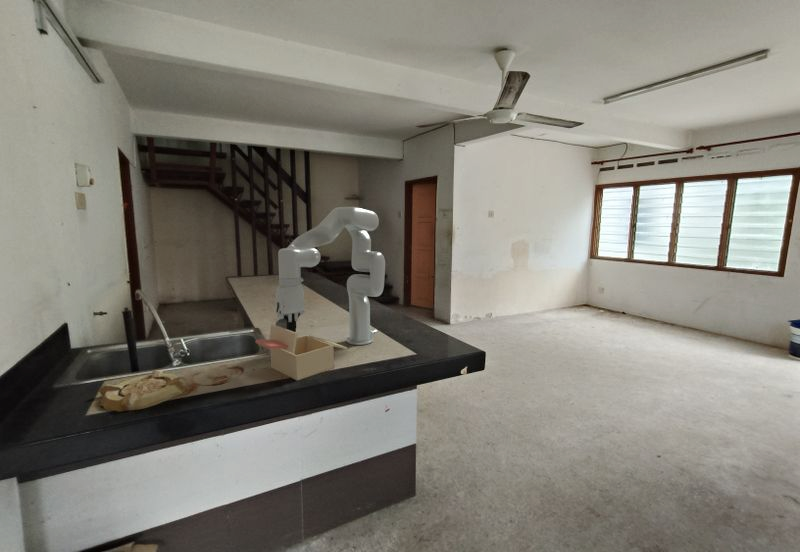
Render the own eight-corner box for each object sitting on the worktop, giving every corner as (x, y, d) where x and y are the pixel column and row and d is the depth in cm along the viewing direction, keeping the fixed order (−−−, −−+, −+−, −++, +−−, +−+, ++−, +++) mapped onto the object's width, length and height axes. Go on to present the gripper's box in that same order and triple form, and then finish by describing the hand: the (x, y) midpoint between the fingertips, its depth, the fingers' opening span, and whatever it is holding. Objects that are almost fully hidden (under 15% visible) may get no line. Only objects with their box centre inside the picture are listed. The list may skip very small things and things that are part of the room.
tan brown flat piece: (185, 374, 137) (184, 361, 137) (189, 399, 117) (188, 384, 117) (103, 389, 125) (101, 375, 124) (92, 420, 105) (90, 403, 104)
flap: (273, 324, 142) (253, 324, 136) (297, 333, 130) (277, 333, 125) (270, 343, 142) (250, 343, 136) (294, 353, 130) (274, 354, 125)
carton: (307, 356, 155) (306, 335, 154) (333, 368, 143) (333, 345, 142) (271, 367, 143) (270, 344, 142) (297, 380, 131) (296, 355, 130)
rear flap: (347, 347, 148) (346, 349, 148) (322, 338, 159) (321, 340, 159) (333, 344, 143) (333, 346, 143) (308, 335, 154) (308, 337, 154)
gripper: (302, 279, 144) (303, 326, 146) (265, 283, 133) (267, 333, 135) (313, 281, 139) (314, 329, 141) (276, 285, 128) (278, 338, 130)
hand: (291, 331), depth 138 cm, fingers closed
